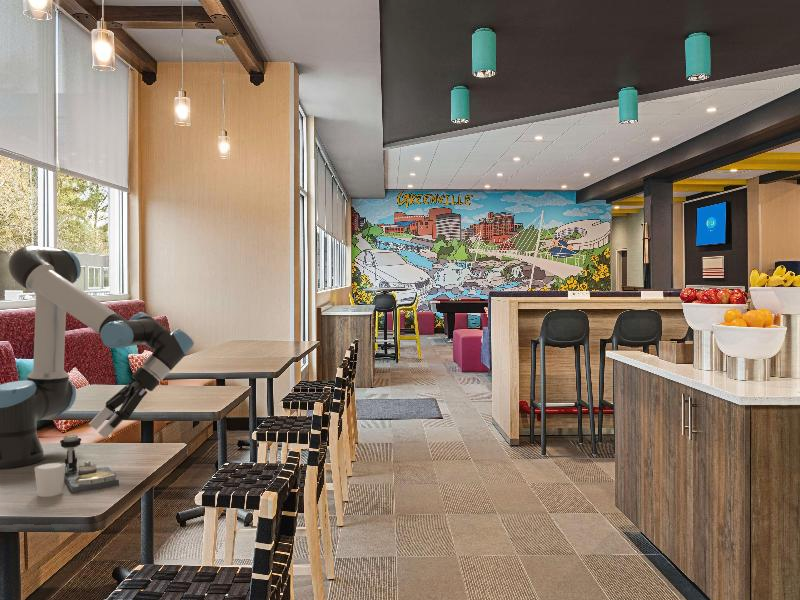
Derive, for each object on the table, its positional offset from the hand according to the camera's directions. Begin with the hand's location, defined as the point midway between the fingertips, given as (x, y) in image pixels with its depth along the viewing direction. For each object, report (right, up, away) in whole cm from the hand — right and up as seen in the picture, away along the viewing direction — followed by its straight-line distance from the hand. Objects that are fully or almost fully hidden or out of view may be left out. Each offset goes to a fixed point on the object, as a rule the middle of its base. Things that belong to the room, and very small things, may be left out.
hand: (96, 431), depth 182 cm
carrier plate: (+4, -11, -12) cm, 17 cm away
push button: (-6, -11, -3) cm, 13 cm away
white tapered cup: (-2, -12, -21) cm, 24 cm away
